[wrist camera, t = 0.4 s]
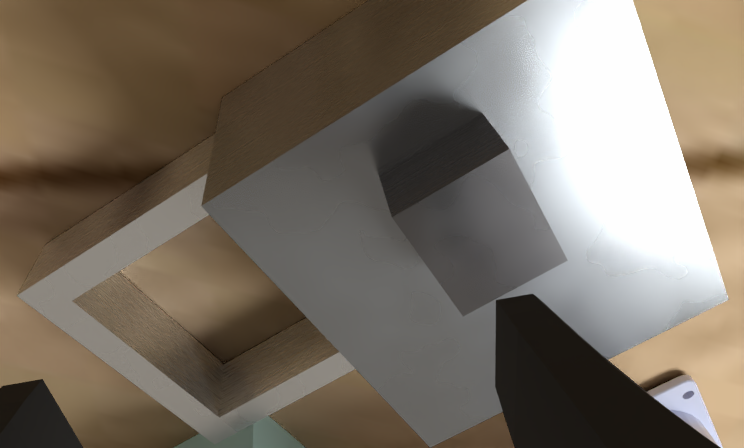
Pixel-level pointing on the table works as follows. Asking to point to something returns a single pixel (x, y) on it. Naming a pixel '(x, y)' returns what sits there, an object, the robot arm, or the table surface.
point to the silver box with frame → (409, 212)
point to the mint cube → (249, 438)
